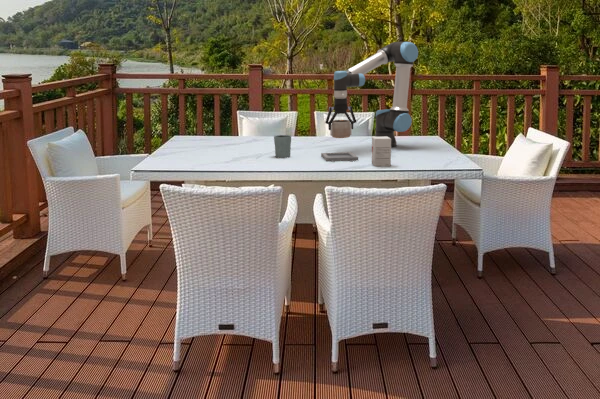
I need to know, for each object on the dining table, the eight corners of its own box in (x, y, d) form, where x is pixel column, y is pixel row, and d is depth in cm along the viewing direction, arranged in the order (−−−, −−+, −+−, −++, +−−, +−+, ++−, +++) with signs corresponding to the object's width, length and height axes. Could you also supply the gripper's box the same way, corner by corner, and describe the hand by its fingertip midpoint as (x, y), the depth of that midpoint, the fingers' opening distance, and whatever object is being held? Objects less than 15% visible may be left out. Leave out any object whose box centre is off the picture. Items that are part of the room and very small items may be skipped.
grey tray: (351, 155, 419) (351, 152, 419) (359, 161, 399) (359, 157, 399) (321, 156, 417) (321, 153, 417) (327, 162, 397) (327, 158, 397)
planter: (348, 138, 420) (348, 121, 418) (330, 138, 422) (330, 121, 420) (351, 135, 431) (351, 119, 428) (333, 135, 433) (333, 119, 431)
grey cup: (278, 158, 410) (278, 137, 408) (271, 156, 419) (270, 135, 417) (294, 157, 415) (294, 136, 412) (286, 154, 424) (286, 134, 421)
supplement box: (371, 163, 392) (371, 136, 388) (387, 163, 392) (388, 136, 389) (374, 166, 383) (374, 138, 380) (390, 166, 383) (391, 138, 380)
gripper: (321, 98, 416) (322, 136, 421) (361, 97, 419) (361, 135, 424) (319, 97, 424) (320, 135, 428) (358, 96, 426) (358, 133, 431)
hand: (340, 135), depth 426 cm, fingers closed on planter, 11 cm apart
